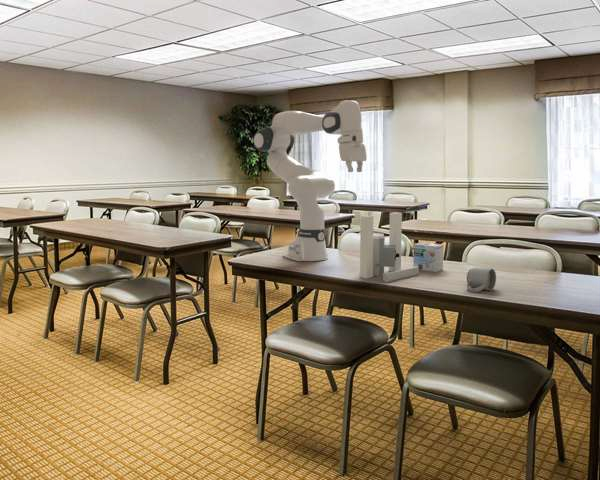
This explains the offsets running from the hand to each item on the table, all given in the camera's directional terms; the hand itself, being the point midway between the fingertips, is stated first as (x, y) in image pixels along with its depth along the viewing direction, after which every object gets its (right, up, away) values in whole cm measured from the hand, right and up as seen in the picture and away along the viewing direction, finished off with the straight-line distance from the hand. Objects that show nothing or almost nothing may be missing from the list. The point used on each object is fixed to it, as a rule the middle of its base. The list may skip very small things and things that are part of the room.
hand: (355, 172), depth 225 cm
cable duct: (+16, -43, -18) cm, 50 cm away
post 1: (+3, -43, -17) cm, 47 cm away
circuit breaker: (+9, -43, -11) cm, 45 cm away
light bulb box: (+30, -41, -3) cm, 51 cm away
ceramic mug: (+40, -46, -38) cm, 72 cm away
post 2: (+16, -41, -5) cm, 45 cm away
